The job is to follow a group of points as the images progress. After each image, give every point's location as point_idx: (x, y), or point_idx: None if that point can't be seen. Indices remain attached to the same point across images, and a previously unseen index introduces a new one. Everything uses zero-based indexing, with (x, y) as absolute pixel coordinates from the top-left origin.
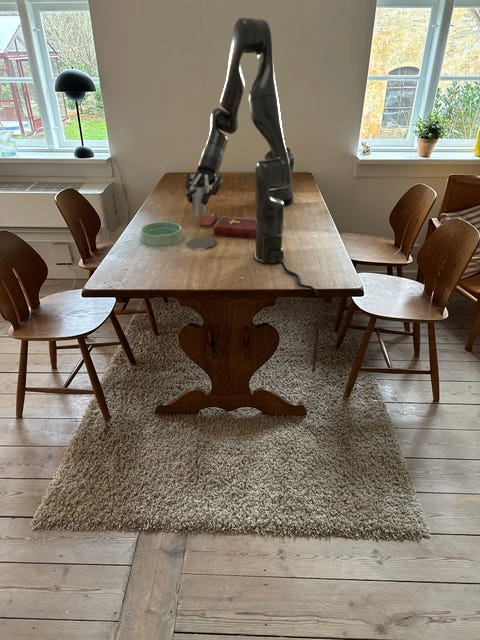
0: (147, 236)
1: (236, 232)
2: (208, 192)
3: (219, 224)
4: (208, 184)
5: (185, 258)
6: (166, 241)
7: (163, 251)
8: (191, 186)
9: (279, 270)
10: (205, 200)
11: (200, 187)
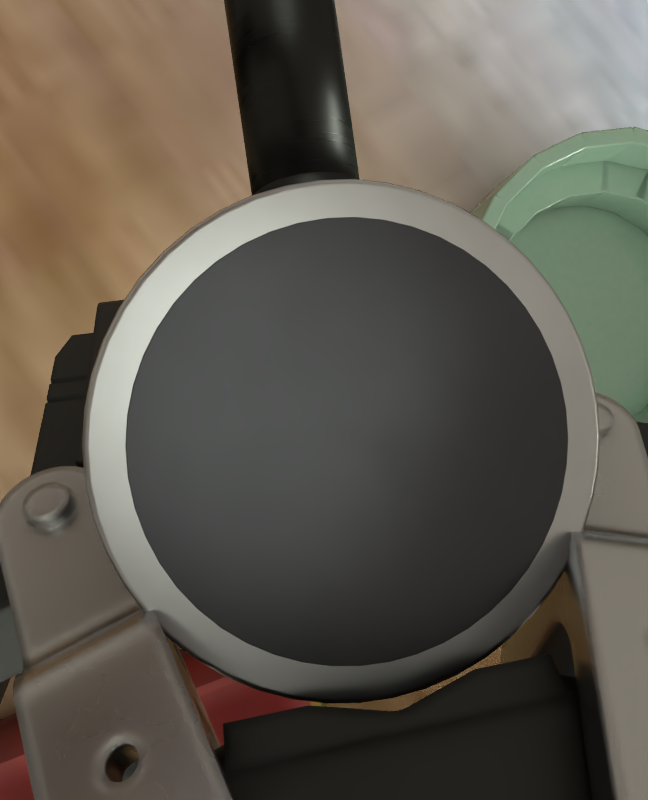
0: (623, 131)
1: None
2: (18, 496)
3: (276, 711)
4: (29, 731)
5: (206, 120)
6: (474, 211)
7: (427, 149)
8: (541, 280)
9: None
10: (80, 352)
11: (170, 322)
